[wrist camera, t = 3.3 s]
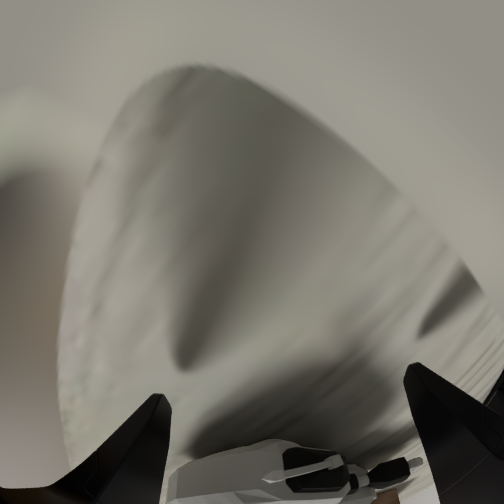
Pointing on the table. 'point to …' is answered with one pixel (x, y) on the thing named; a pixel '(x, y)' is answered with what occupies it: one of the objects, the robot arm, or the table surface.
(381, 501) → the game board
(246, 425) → the table surface
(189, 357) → the table surface
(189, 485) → the robot toy
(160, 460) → the robot arm
